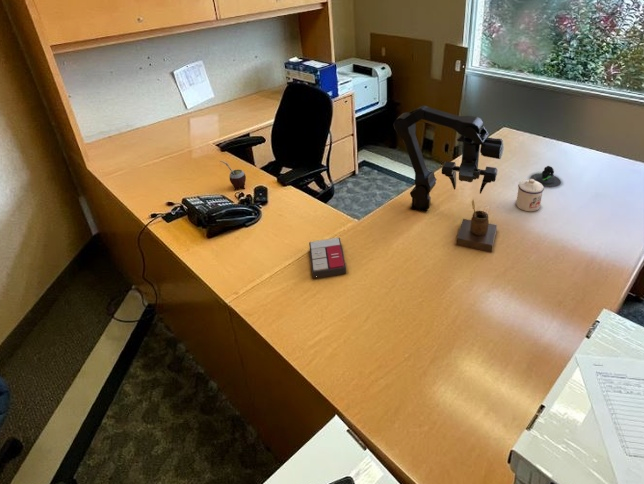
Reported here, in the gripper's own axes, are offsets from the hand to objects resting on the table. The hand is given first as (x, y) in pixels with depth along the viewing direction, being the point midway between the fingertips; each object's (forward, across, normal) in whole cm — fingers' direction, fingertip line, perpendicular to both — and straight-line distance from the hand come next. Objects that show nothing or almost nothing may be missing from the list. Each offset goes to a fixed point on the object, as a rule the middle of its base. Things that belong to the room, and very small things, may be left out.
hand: (467, 191), depth 152 cm
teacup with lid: (+12, +22, +17) cm, 30 cm away
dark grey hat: (+12, +27, +38) cm, 48 cm away
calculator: (+12, -39, -40) cm, 57 cm away
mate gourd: (+12, -100, -9) cm, 101 cm away
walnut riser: (+12, +6, -11) cm, 17 cm away
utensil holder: (+9, +6, -11) cm, 15 cm away
